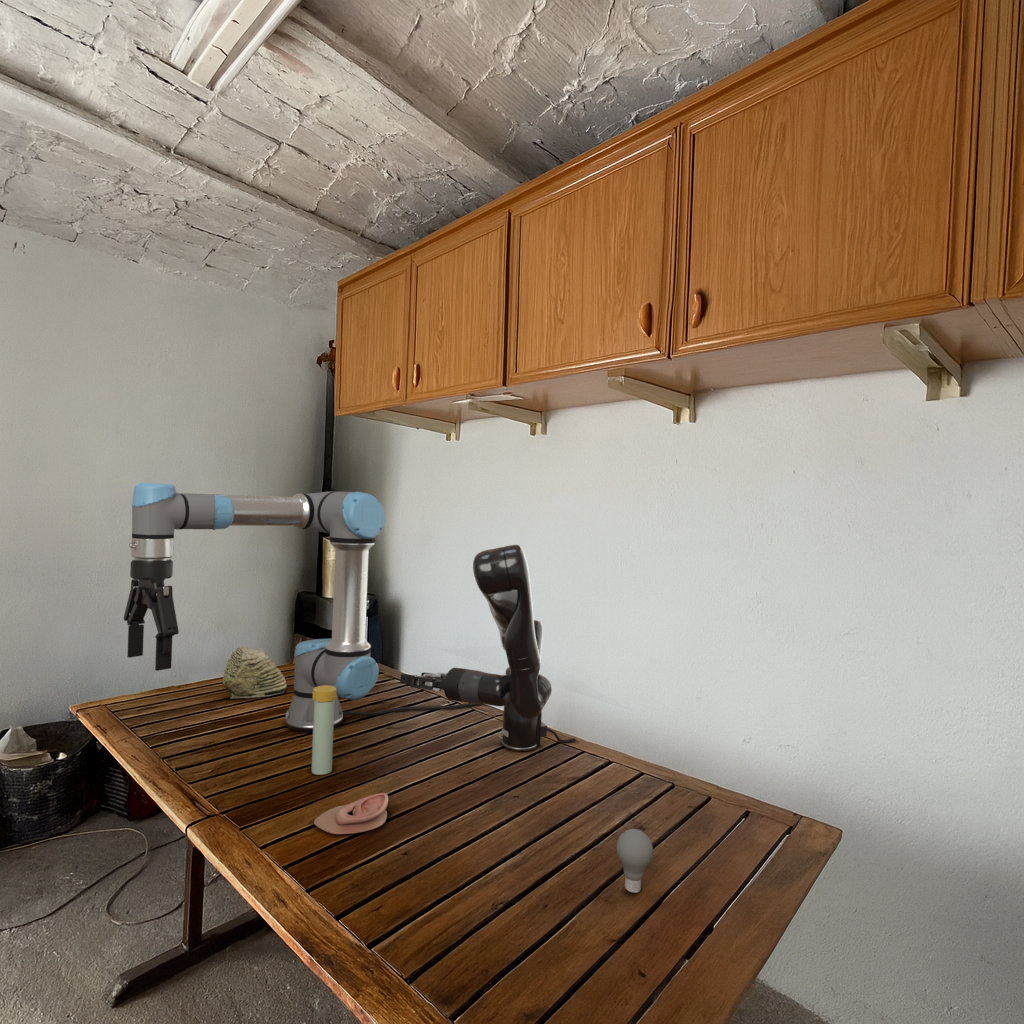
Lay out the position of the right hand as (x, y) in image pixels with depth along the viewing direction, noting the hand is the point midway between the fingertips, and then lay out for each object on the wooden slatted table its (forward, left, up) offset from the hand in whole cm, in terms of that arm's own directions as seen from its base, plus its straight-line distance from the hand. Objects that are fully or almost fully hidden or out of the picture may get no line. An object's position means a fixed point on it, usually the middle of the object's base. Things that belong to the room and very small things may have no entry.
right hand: (411, 677), depth 156 cm
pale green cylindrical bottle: (+21, +1, -20) cm, 29 cm away
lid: (+21, +1, -1) cm, 21 cm away
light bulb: (-21, +65, -20) cm, 71 cm away
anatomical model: (+18, +26, -20) cm, 38 cm away
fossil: (+33, -61, -20) cm, 72 cm away
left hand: (+56, +4, +8) cm, 57 cm away
